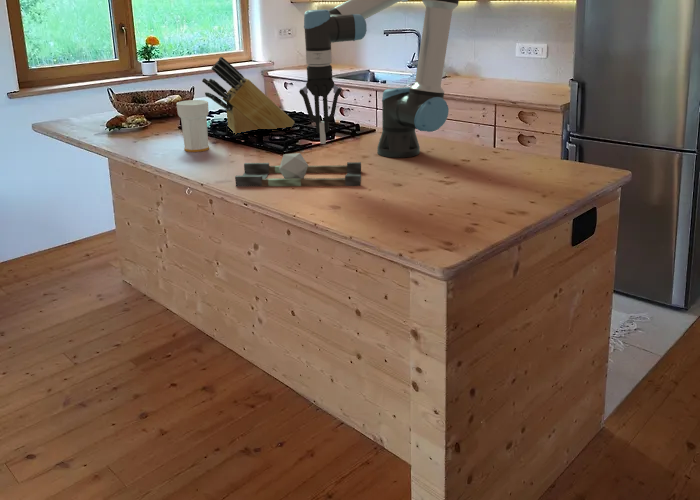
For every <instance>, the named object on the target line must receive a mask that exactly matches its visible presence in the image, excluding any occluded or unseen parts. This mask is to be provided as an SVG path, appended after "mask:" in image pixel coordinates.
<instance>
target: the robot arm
mask: <svg viewBox="0 0 700 500" xmlns="http://www.w3.org/2000/svg"><path fill="white" fill-rule="evenodd" d="M408 1H409V0H346V1H344V2H342V3H340V4H338V5H336V6H335V7H333V8H330V9H309V10H306V11H305V12H304V18H303V28H304V42H305V60H306V61H305V63H306V66H307V67H306V75H307V76H306V77H307V78H306V79H307V80H306V83H305V86H304V87H302V88H300V89H299V91H298V92H299V95H301V97H302V98H303V102H304V106H305V109H306V112H307V116H308V119H309V120H310V121H312V122H315V132H316V133H317V134H319V140H320V143H319V144H320V145H326V142H327V141H326V140H327V137H326V133H329V130H330V127H329V122H330V121H333V120H334V119H335V115H336V110H337V104H338V99H339V95H340V94H341V92H342V87H341V86H337V85H336V84H335V82H334V80H333V79H334V78H333V66H332V65H331V64H332V61H333V59H332V44H333V43H341V42H356V41H359V40H362V39H364V37H365V36H366V35H367V31H368V30H367V22H366V19H368V18H370V17H372V16H375V15H376V14H378V13H380V12H382V11H383V10H385V9H387V8H390V7H391V6H393V5H396V4H397V3H399V2H404V3H406V2H408ZM421 1H422V3H423V5H424V6H425V11H424V17H423V18H424V19H423V20H424V21H423V26H422V31H421V32H422V33H421V39H420V45H419V55H418V60H417V67H416V75H415V82H414V83H413V84H412V85H411V86H406V87H405V86H403V87H394V88H387V89H384V91H383V92H382V97H381V98H382V99H381V102H382V104H381V105H382V114H381V115H382V122H381V123H382V124H381V125H382V126H381V127H382V132H381V134H380V138H379V141H378V145H377V154H378V155H380V156H382V157H386V158H397V159H398V158H401V159H403V158H410V157H411V158H412V157H415V156H418V155H419V154H421V153H420V152H421V151H420V150H421V149H420V143H419V140H418V137H417V134H416V130H418V131H421V132H426V133H427V132H428V133H431V132H436V131H437V130H439V129H440V128H441V127H443V125H444V124H445V123H446V122H447V119H448V116H449V105H448V104H447V103H448V101H446V100H445V99H444V97H445V90H444V89H443V87H442V81H443V80H442V79H443V73H444V67H445V61H446V55H447V49H448V43H449V42H448V41H449V34H450V28H451V21H452V14H453V11H454V9H456V8H457V7H459V1H460V0H421ZM332 90H333V93H334V95H333V100H332V105H331V111H330V115H329V105H328V104H329V103H328V96H329V94H330V93H331V92H332ZM308 91H309V93H311V95H312V96H313V101H314V112H313V108H312V105H311V102H310V99H309V96H308ZM320 97H322V106H323V107H322V110H323V120H321V113H320V112H321V111H320Z"/></svg>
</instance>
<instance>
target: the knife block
mask: <svg viewBox="0 0 700 500" xmlns="http://www.w3.org/2000/svg"><path fill="white" fill-rule="evenodd" d="M210 69H211V70H212V71H213V72H214V73H215V74H216V75H217V76H218V77H219V78H221V79H222V80H223V81H224V82H225V83H226V84H227V85H229V86H230V87H231V88H229V90H227V89H225V88H224V87H223V86H222V85H221V84H219V83H218V82H217V81H216V80H215V79H212V78H210V79H206V78H203V79H202V80H201V81H202V83H204V84H205V85H206V86H207V87H208V88H209V89H211V90H212V91H213V92H214V93H216V94H217V95H218V96H220V97H222V99H221V98H220V97H218V96H217V95H215V94H212V93H210V92H204V95H205V97H207V98H209V99H211V100H212V101H213V102H215V103H216V104H217V105H219V106H220V107H221V108H224V109H226V118H227V127H229V128H230V129H231V130H232V131H233V134H234V133H235V134H234V135H236V134H237V133H241V132H246V131H250V130H257V129H277V128H286V127H291V128H292V127H293V126H294V125H295V120H293V119H292V117H290V116H289V115H288V114H287V113H286V112H285V111H284V110H282V109H281V108H280V107H279V106H278V105H277V104H276V103H275V102H274V101H273V100H272V99H271V98H270V97H269V96H267V95H266V94H265V93H264V91H262V90H261V89H260V88H258V87H257V85H255V84H254V83H253V82H252V81H251V80H250V79H248V78H245V76H244V75H243V74H242V73H241V72H239V70H238V69H236V68H235V67H234V66H233V65H232V64H231V63H230V62H229V61H227V60H226V59H225V58H224V57H222V56H220V57H219V59H218V60H217V61H216V62H215V64H214V65H213V66H211V68H210Z"/></svg>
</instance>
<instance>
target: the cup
mask: <svg viewBox="0 0 700 500" xmlns="http://www.w3.org/2000/svg"><path fill="white" fill-rule="evenodd" d="M176 110H177V111H176V112H177V116H178V117H179V118H180V121H181V129H182V136H183V143H184V144H183V145H184V146H183V147H184V148H183V149H184V151H185V152H188V153H201V152H206V151H208V150H210V145H209V139H208V136H209V135H208V122H207V121H208V120H207V117H208V115H209V113H210V111H209V102H208V100H204V99H203V100H202V99H190V100H189V99H188V100H181V101H178V102H176Z"/></svg>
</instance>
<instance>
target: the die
mask: <svg viewBox="0 0 700 500" xmlns="http://www.w3.org/2000/svg"><path fill="white" fill-rule="evenodd" d="M279 166H280V167H279V170H280V172H281V173H280V174H281V176H282V177H283V178H305V176H306V174H307V173H306V170H307V168H308V166H309V164H308V163H307V161H306V160H305V158H304V156H303V155H302V153H301V152H297V153H285V154H284V153H283V155H282V159H281V162H280V164H279Z"/></svg>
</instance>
